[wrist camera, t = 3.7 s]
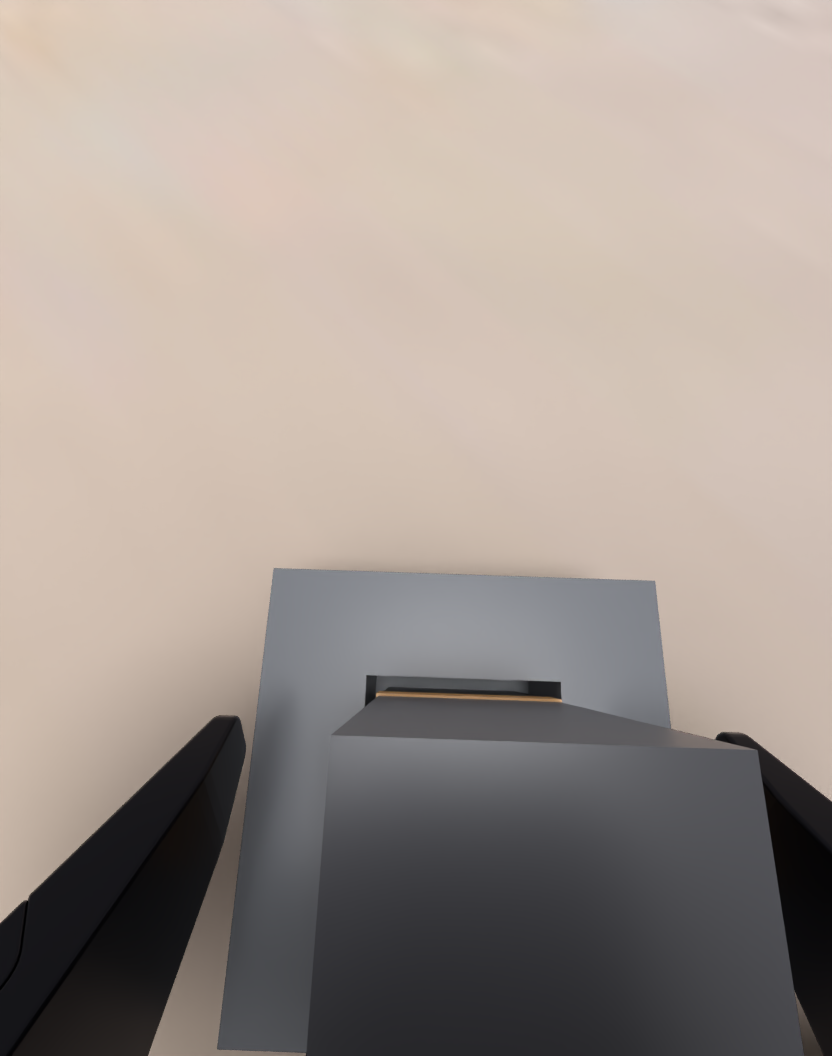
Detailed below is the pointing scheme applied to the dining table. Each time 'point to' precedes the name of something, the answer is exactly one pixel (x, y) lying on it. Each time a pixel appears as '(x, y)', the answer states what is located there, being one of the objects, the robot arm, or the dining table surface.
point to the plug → (544, 887)
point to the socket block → (352, 683)
